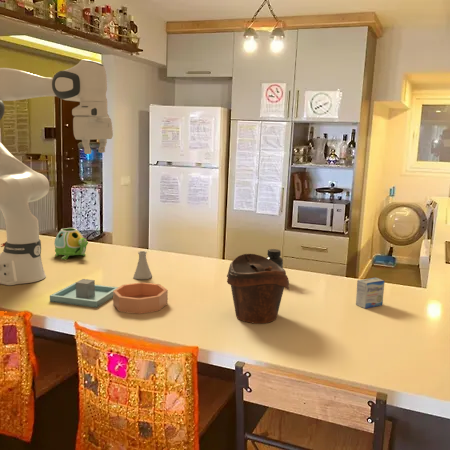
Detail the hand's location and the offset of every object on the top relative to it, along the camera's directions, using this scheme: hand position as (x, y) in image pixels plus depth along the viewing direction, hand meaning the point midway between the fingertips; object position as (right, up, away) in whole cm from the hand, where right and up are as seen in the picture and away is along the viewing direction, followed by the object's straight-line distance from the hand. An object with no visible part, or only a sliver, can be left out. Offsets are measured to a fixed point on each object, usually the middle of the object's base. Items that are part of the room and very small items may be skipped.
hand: (95, 153), depth 167 cm
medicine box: (+91, -51, -3) cm, 105 cm away
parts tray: (-3, -48, -1) cm, 48 cm away
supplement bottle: (+62, -46, +20) cm, 80 cm away
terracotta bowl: (+16, -50, -7) cm, 53 cm away
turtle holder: (-23, -38, +50) cm, 67 cm away
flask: (+12, -44, +22) cm, 51 cm away
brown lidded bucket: (+54, -52, -15) cm, 76 cm away
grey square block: (-3, -48, -2) cm, 48 cm away
